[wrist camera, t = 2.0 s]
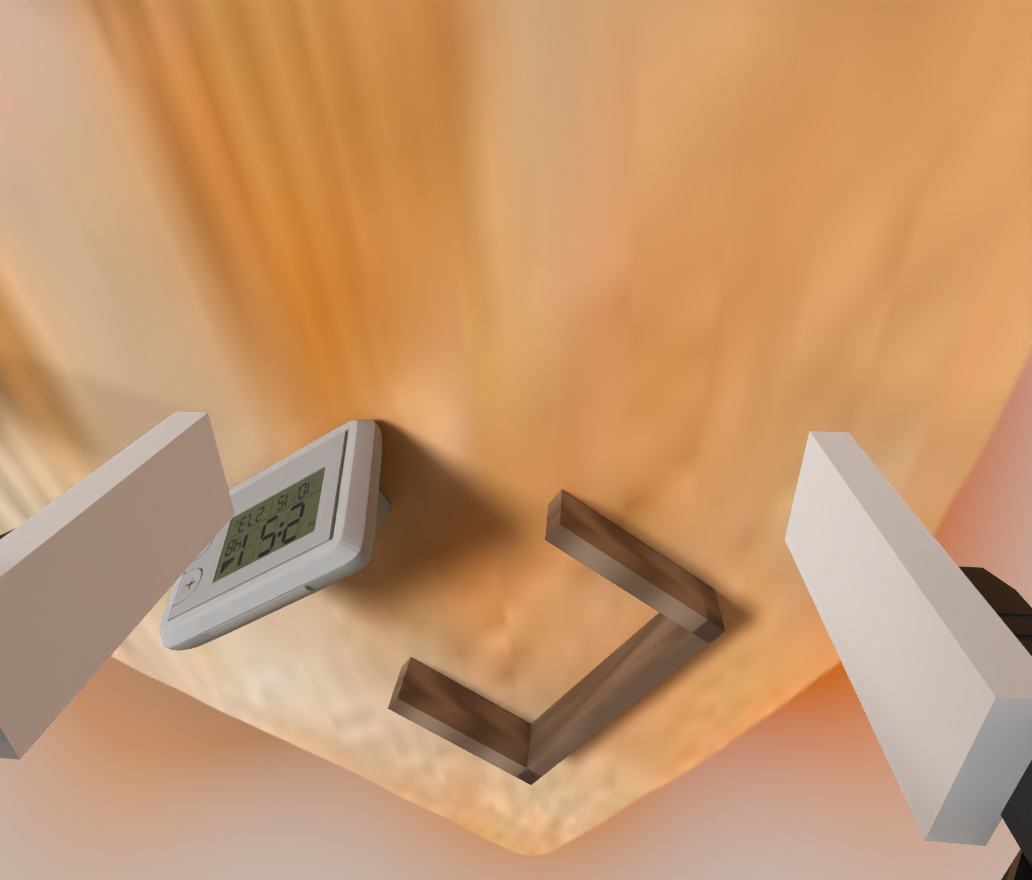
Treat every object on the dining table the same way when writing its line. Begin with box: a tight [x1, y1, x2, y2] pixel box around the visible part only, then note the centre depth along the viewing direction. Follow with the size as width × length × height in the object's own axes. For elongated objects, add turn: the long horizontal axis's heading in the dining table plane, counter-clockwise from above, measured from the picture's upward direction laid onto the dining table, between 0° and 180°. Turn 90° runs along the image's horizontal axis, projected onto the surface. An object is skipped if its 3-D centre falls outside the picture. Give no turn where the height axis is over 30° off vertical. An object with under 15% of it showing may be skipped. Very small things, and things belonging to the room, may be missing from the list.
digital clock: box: [160, 420, 391, 650], centre depth 39 cm, size 16×9×11 cm, turn 110°
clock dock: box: [388, 490, 725, 785], centre depth 46 cm, size 14×22×4 cm, turn 145°
